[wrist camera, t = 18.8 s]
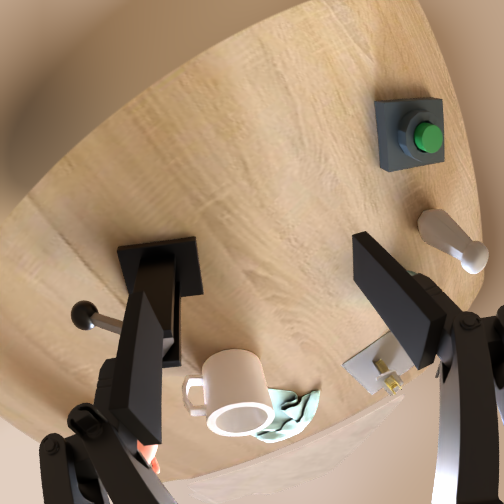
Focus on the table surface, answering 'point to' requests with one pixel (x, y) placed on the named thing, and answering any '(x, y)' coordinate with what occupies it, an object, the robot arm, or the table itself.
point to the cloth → (288, 414)
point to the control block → (406, 131)
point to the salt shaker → (452, 239)
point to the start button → (428, 137)
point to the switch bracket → (164, 282)
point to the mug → (232, 394)
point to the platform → (380, 365)
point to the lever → (101, 321)
